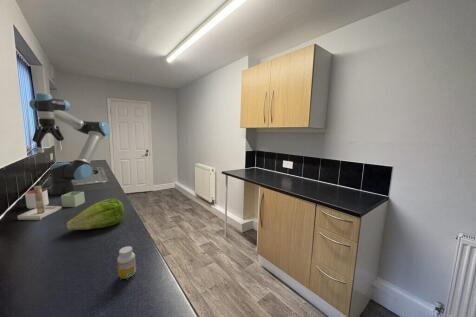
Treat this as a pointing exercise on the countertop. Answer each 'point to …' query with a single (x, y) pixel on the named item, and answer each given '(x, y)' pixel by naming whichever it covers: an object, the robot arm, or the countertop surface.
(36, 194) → the dowel
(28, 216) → the dish
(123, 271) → the supplement bottle
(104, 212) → the lettuce
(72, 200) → the pen pot
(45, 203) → the cup
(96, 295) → the countertop surface
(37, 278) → the countertop surface
